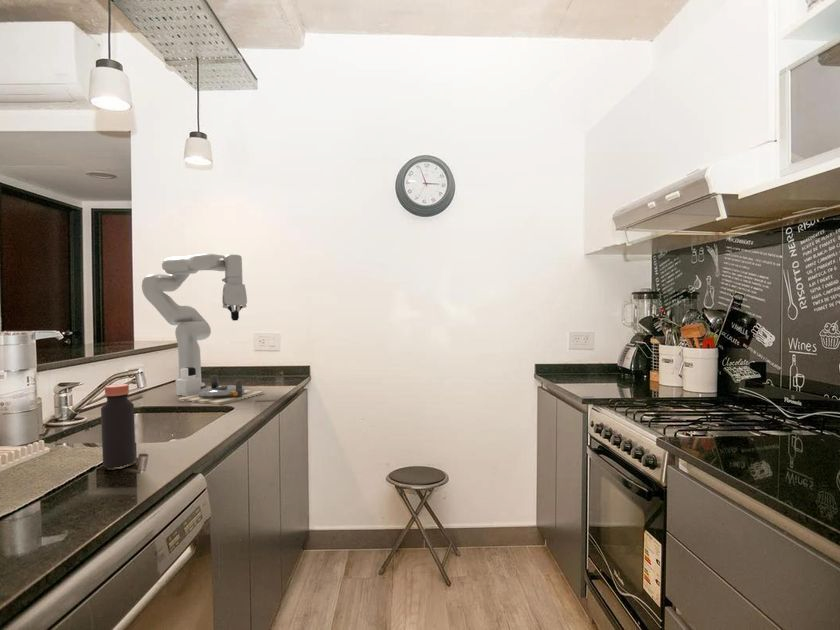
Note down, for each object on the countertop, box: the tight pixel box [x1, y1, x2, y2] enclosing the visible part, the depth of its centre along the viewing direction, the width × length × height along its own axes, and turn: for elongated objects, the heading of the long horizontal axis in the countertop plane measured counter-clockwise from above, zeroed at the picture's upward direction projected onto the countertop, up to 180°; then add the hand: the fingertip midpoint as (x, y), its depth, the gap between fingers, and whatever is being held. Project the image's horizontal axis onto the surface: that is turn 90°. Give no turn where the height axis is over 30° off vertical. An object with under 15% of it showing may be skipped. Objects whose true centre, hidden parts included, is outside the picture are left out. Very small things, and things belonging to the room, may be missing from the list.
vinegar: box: [100, 383, 137, 468], centre depth 116 cm, size 7×7×20 cm
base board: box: [177, 379, 265, 406], centre depth 201 cm, size 24×24×8 cm
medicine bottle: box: [175, 367, 202, 397], centre depth 208 cm, size 7×7×12 cm
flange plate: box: [199, 375, 245, 397], centre depth 200 cm, size 18×20×6 cm
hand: (235, 320), depth 221 cm, fingers closed
